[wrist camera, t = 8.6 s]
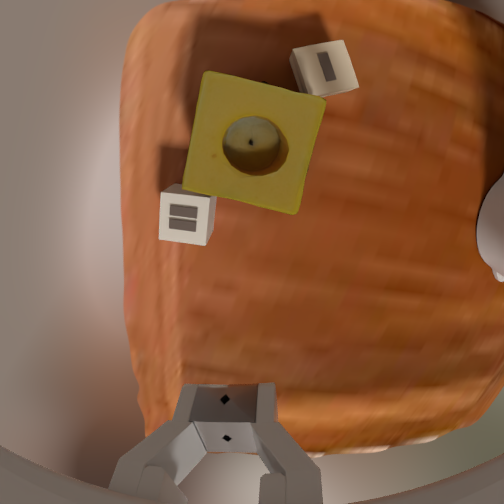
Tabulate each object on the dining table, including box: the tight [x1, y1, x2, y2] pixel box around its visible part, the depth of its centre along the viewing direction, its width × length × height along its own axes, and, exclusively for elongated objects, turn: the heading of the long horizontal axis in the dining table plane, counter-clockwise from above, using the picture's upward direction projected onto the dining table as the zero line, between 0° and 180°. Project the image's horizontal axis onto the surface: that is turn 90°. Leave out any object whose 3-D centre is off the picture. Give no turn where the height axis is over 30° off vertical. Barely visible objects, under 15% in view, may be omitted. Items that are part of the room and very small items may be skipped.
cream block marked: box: [159, 183, 217, 246], centre depth 32 cm, size 5×5×5 cm
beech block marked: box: [289, 40, 359, 97], centre depth 26 cm, size 5×5×5 cm
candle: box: [182, 71, 326, 215], centre depth 27 cm, size 10×10×10 cm
